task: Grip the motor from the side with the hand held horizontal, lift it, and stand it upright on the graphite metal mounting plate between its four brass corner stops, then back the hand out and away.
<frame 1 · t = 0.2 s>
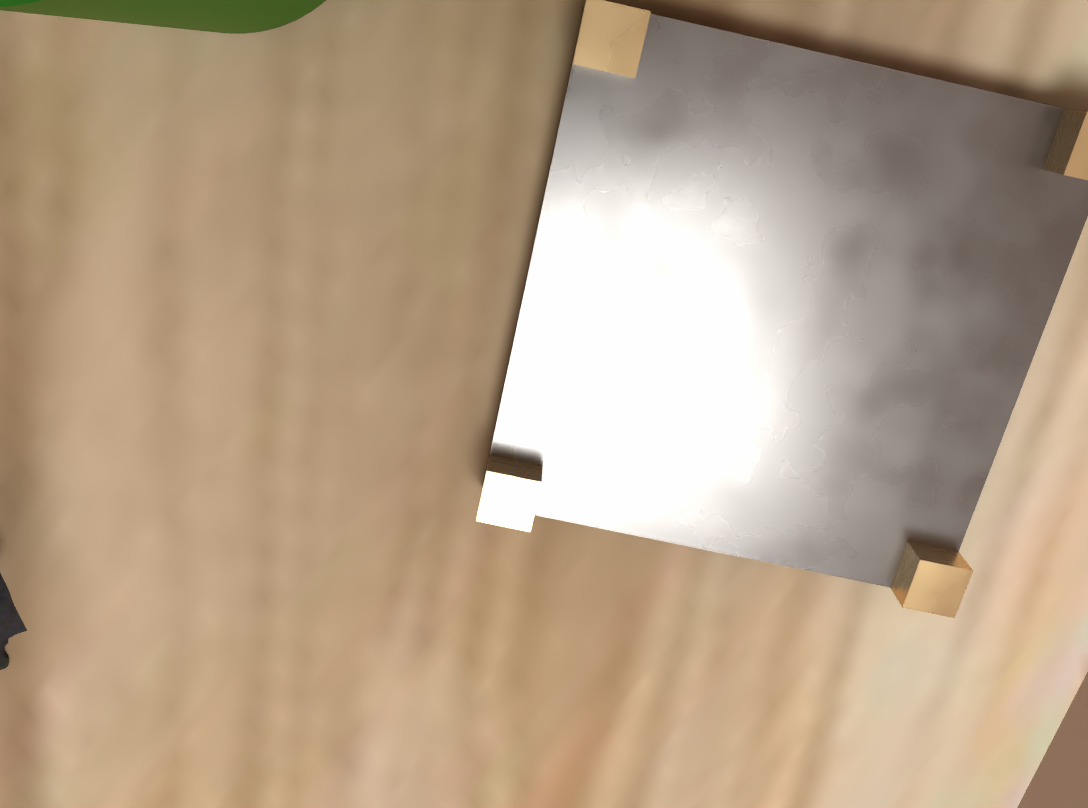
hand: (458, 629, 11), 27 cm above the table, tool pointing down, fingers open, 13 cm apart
mounting plate: (771, 315, 38), on the table
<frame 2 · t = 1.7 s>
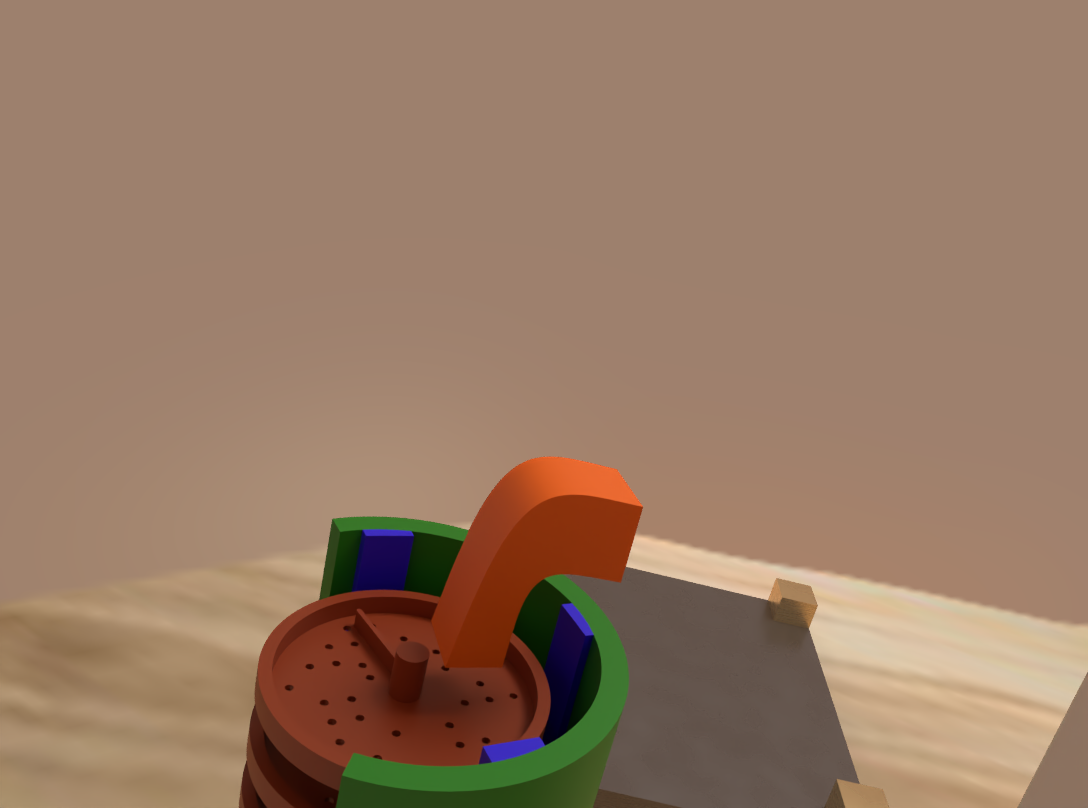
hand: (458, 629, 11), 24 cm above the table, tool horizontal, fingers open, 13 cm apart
mounting plate: (647, 693, 50), on the table
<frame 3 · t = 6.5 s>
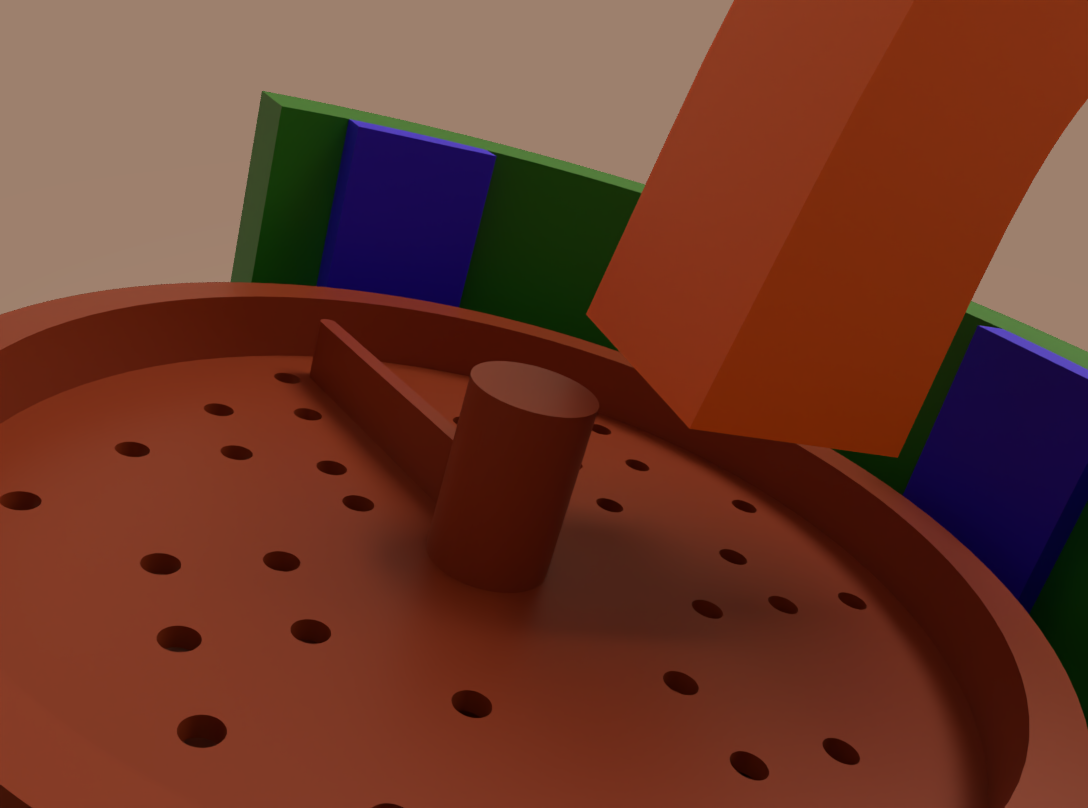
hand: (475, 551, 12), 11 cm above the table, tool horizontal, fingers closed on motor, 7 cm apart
when the fingers open (14 cm above the table, at t = 10.3 s): motor drops 2 cm, resting on mounting plate.
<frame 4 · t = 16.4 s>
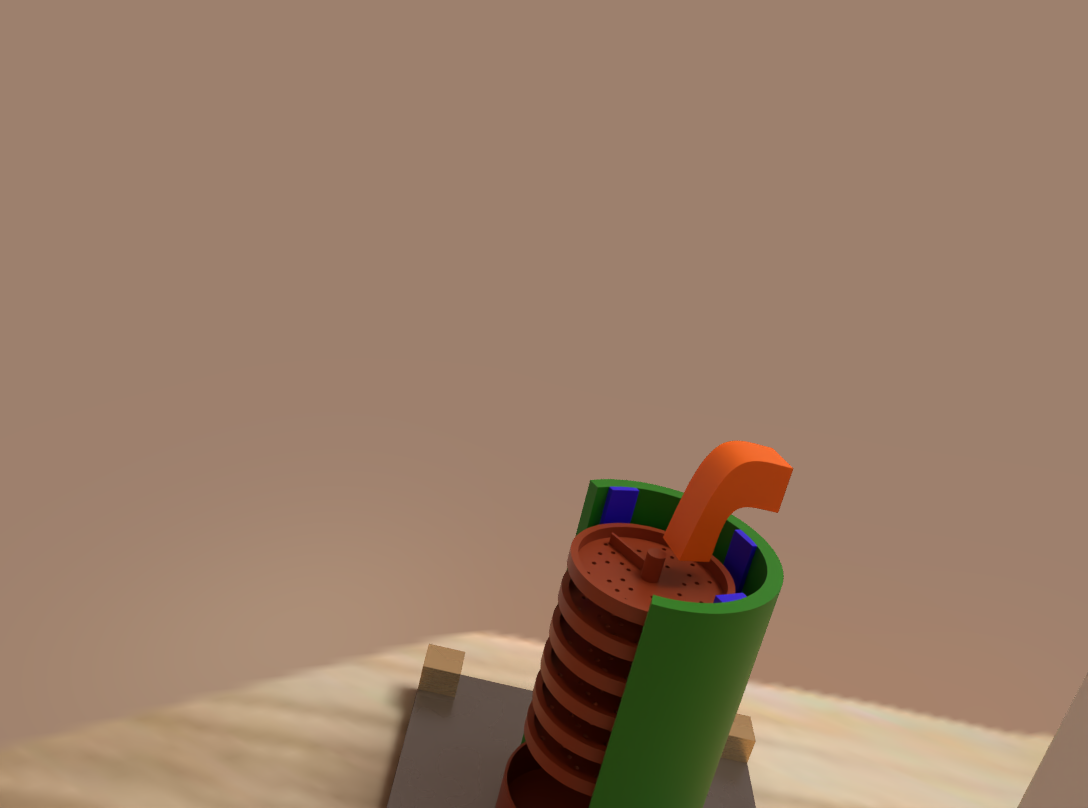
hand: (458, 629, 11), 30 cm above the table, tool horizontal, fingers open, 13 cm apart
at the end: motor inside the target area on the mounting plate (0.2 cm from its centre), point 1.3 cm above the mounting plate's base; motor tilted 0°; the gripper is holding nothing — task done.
